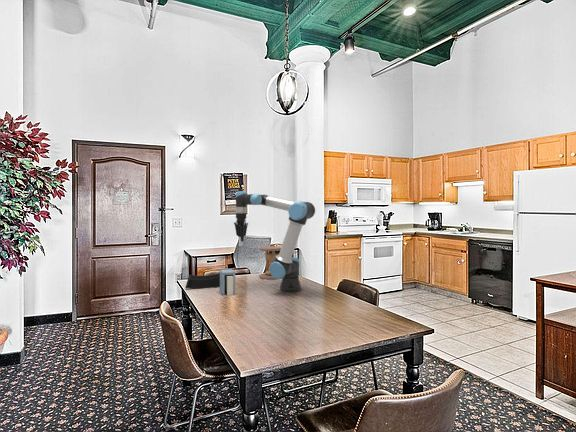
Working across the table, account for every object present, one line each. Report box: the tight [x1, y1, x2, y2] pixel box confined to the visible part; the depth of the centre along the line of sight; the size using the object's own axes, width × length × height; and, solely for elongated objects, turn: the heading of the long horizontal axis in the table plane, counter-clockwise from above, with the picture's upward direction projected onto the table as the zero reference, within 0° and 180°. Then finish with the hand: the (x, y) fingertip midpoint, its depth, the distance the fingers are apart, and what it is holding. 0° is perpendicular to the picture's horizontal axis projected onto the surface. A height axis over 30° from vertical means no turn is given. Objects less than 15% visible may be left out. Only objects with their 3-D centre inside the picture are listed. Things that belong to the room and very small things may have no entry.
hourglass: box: [259, 245, 282, 281], centre depth 301 cm, size 18×18×25 cm
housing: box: [219, 268, 236, 296], centre depth 250 cm, size 14×8×14 cm, turn 18°
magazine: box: [184, 272, 220, 290], centre depth 263 cm, size 17×3×30 cm
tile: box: [225, 275, 234, 296], centre depth 249 cm, size 13×4×12 cm, turn 18°
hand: (241, 245), depth 264 cm, fingers closed
